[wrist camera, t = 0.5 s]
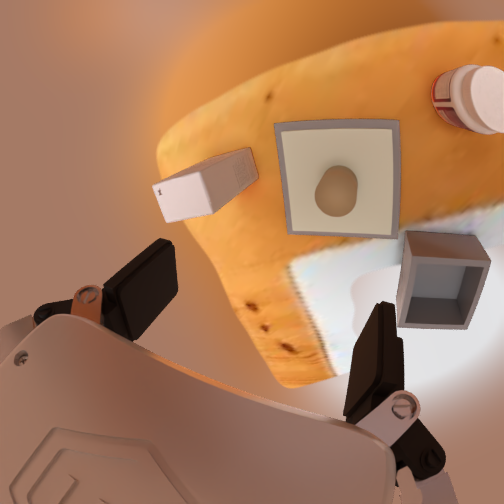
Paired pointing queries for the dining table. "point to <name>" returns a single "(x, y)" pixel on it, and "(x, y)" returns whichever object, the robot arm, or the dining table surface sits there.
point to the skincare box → (205, 185)
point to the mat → (344, 124)
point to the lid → (340, 179)
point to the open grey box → (440, 280)
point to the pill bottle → (471, 98)
